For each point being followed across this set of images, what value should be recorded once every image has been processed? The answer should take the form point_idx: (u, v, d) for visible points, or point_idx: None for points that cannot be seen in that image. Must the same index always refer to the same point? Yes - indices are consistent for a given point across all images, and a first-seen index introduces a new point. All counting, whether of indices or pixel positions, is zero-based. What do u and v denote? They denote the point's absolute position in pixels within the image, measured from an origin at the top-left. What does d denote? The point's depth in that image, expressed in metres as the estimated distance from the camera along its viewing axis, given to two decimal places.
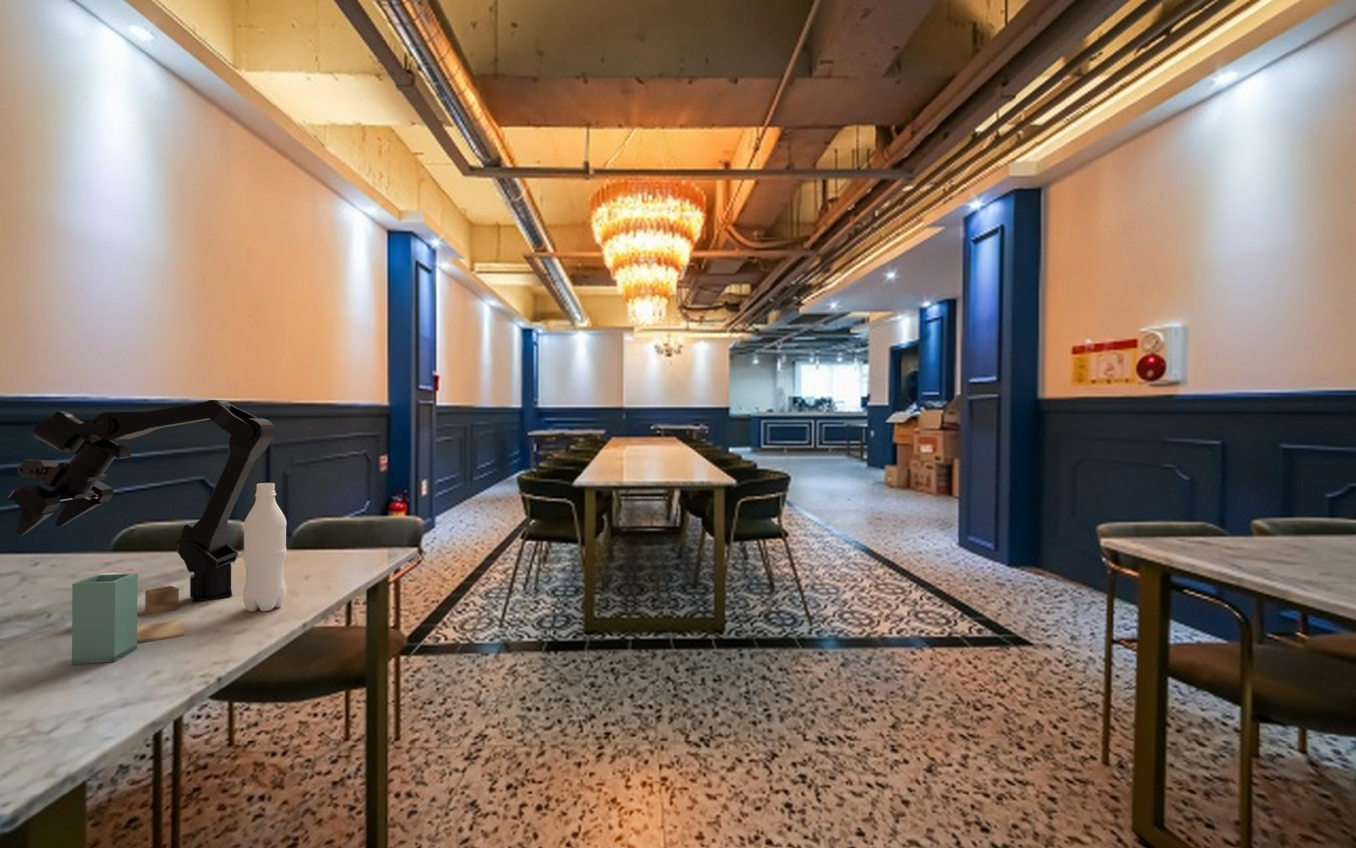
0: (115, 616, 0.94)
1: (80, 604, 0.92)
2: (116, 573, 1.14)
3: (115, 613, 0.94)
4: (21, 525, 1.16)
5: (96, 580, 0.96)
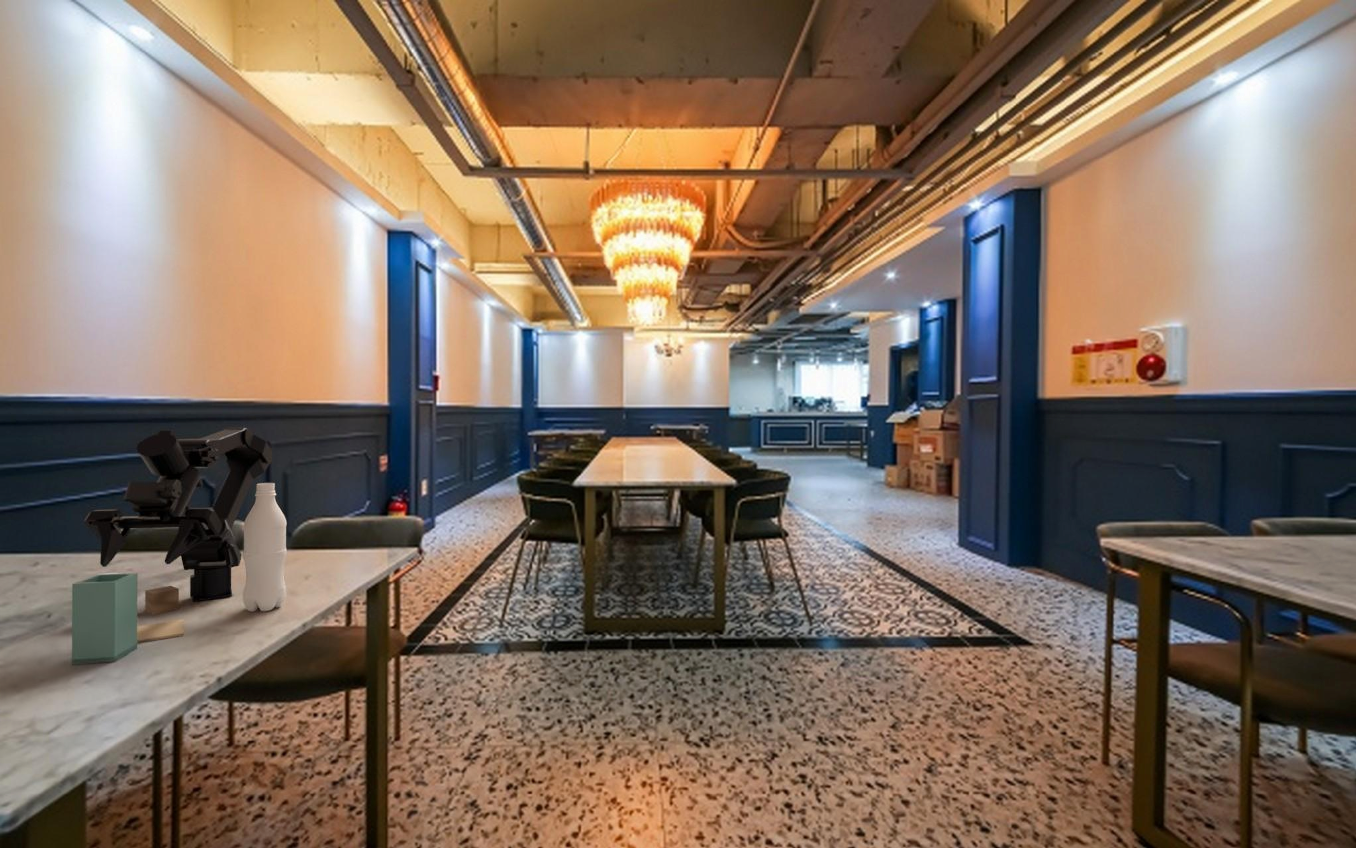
0: (115, 616, 0.94)
1: (80, 604, 0.92)
2: (116, 573, 1.14)
3: (115, 613, 0.94)
4: (176, 552, 1.05)
5: (96, 580, 0.96)
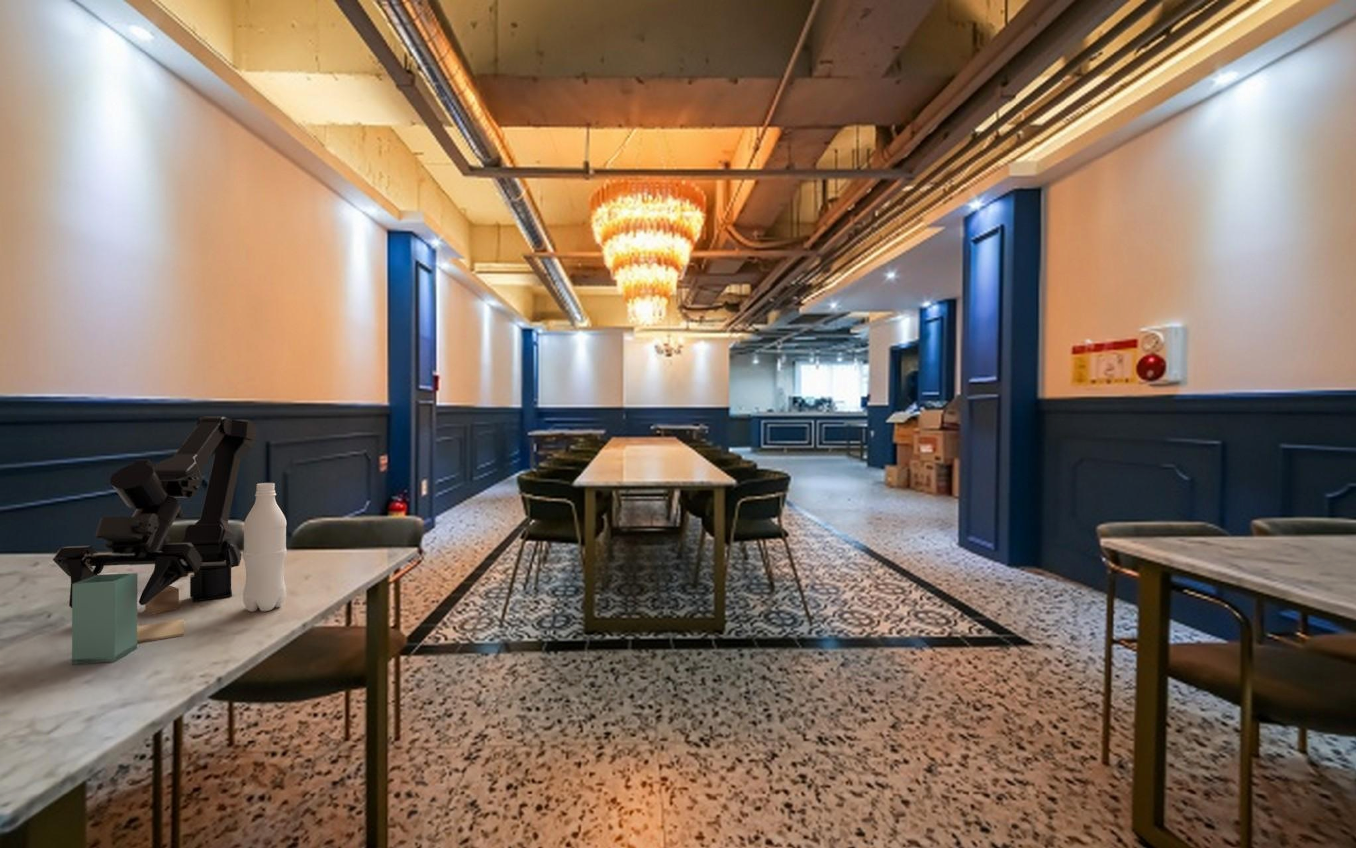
0: (115, 616, 0.94)
1: (80, 604, 0.92)
2: (116, 573, 1.14)
3: (115, 613, 0.94)
4: (152, 591, 0.98)
5: (96, 580, 0.96)
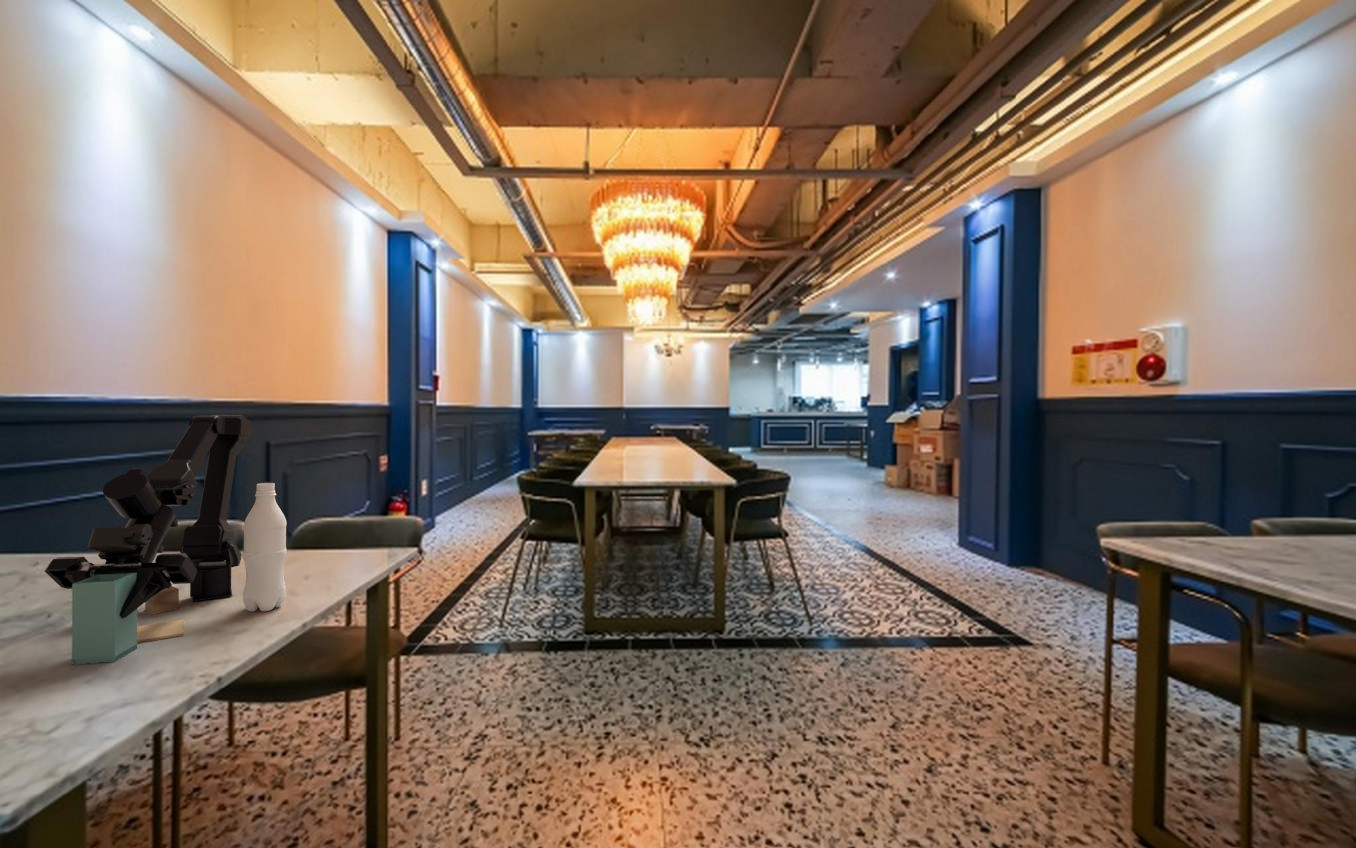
0: (115, 616, 0.94)
1: (80, 604, 0.92)
2: None
3: (115, 613, 0.94)
4: (133, 604, 0.96)
5: (96, 580, 0.96)
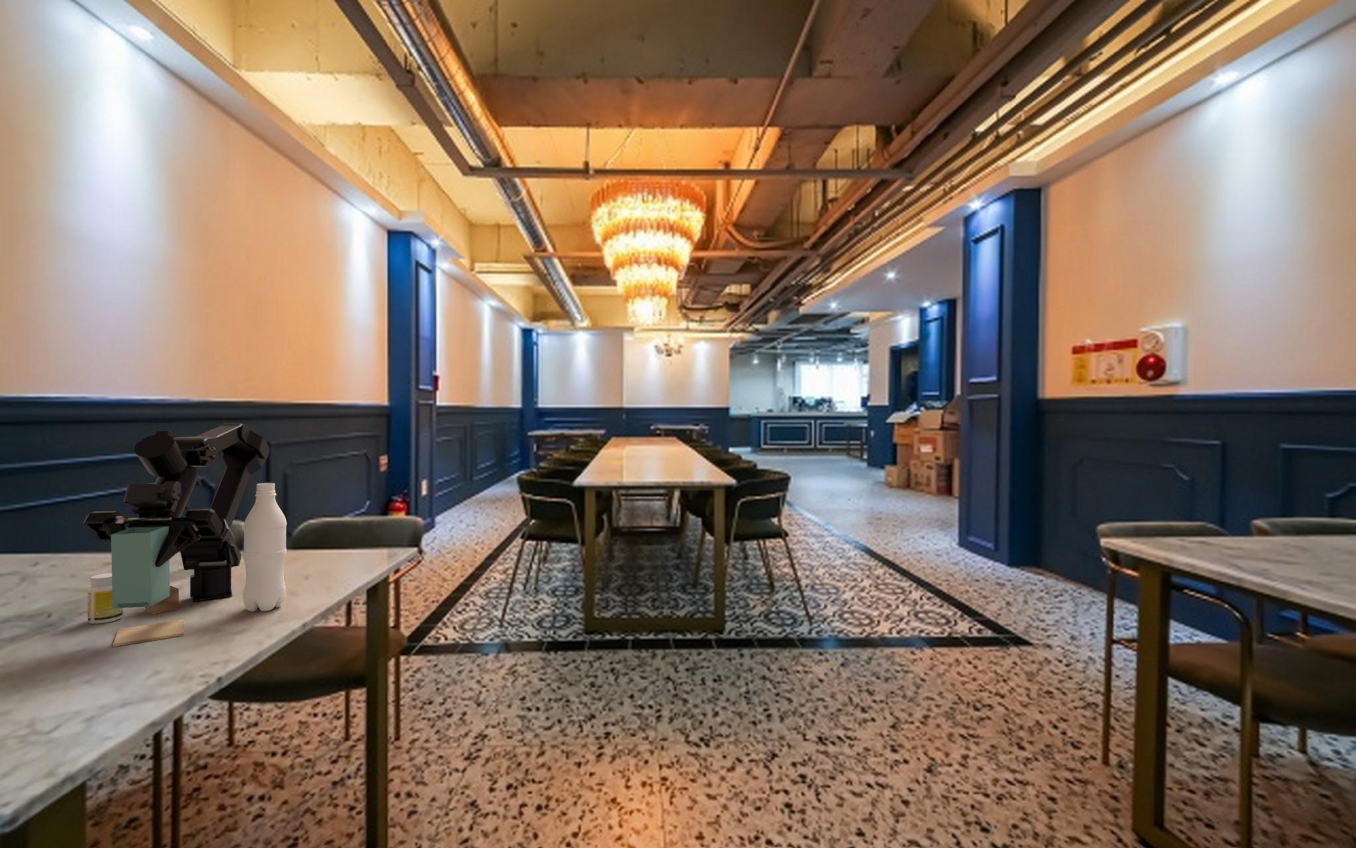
0: (151, 565, 1.02)
1: (119, 553, 1.00)
2: None
3: (151, 561, 1.02)
4: (167, 554, 1.04)
5: (131, 532, 1.04)
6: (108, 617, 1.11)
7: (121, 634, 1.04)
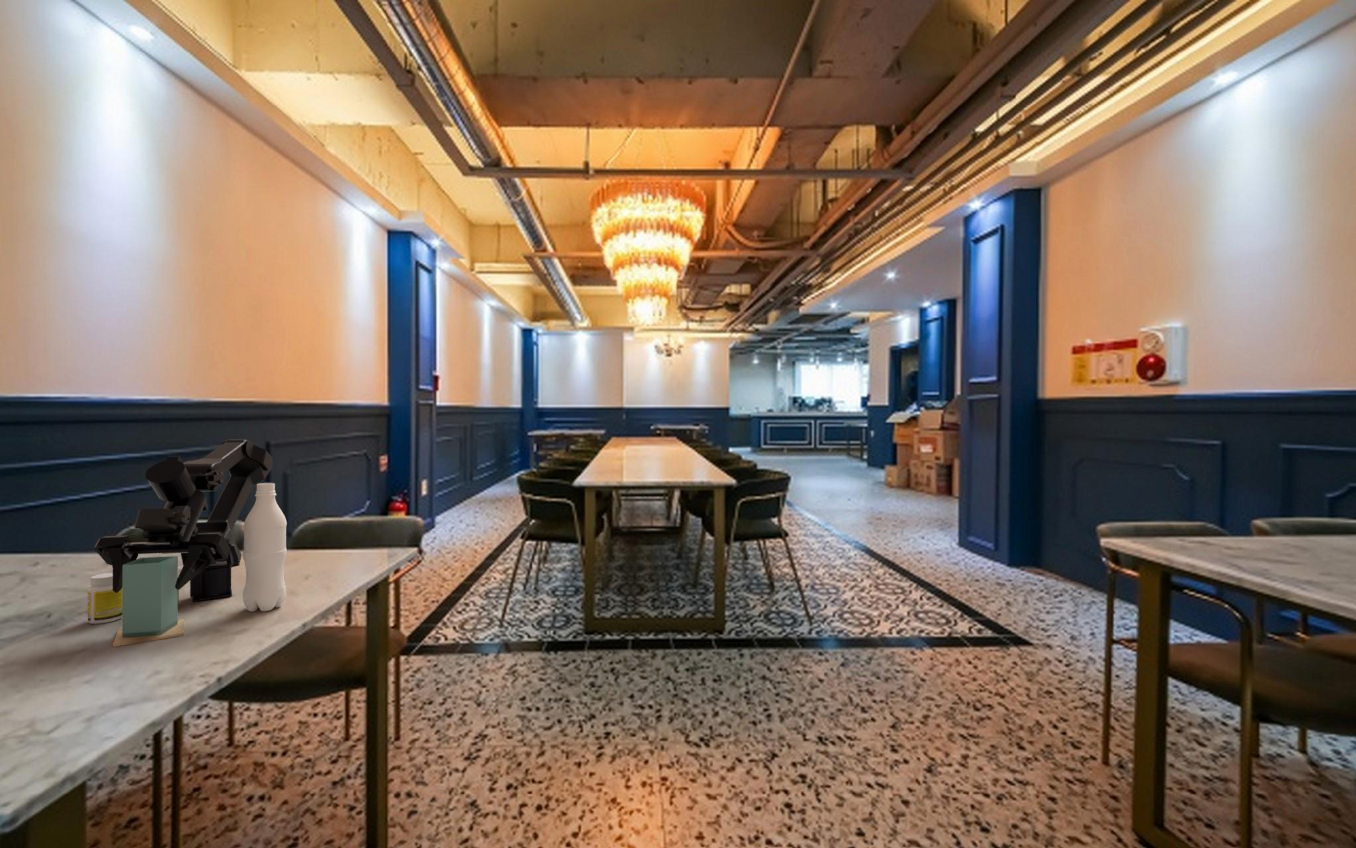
0: (161, 594, 1.04)
1: (129, 583, 1.03)
2: None
3: (161, 591, 1.04)
4: (186, 577, 1.07)
5: (141, 562, 1.07)
6: (108, 617, 1.11)
7: (121, 634, 1.04)
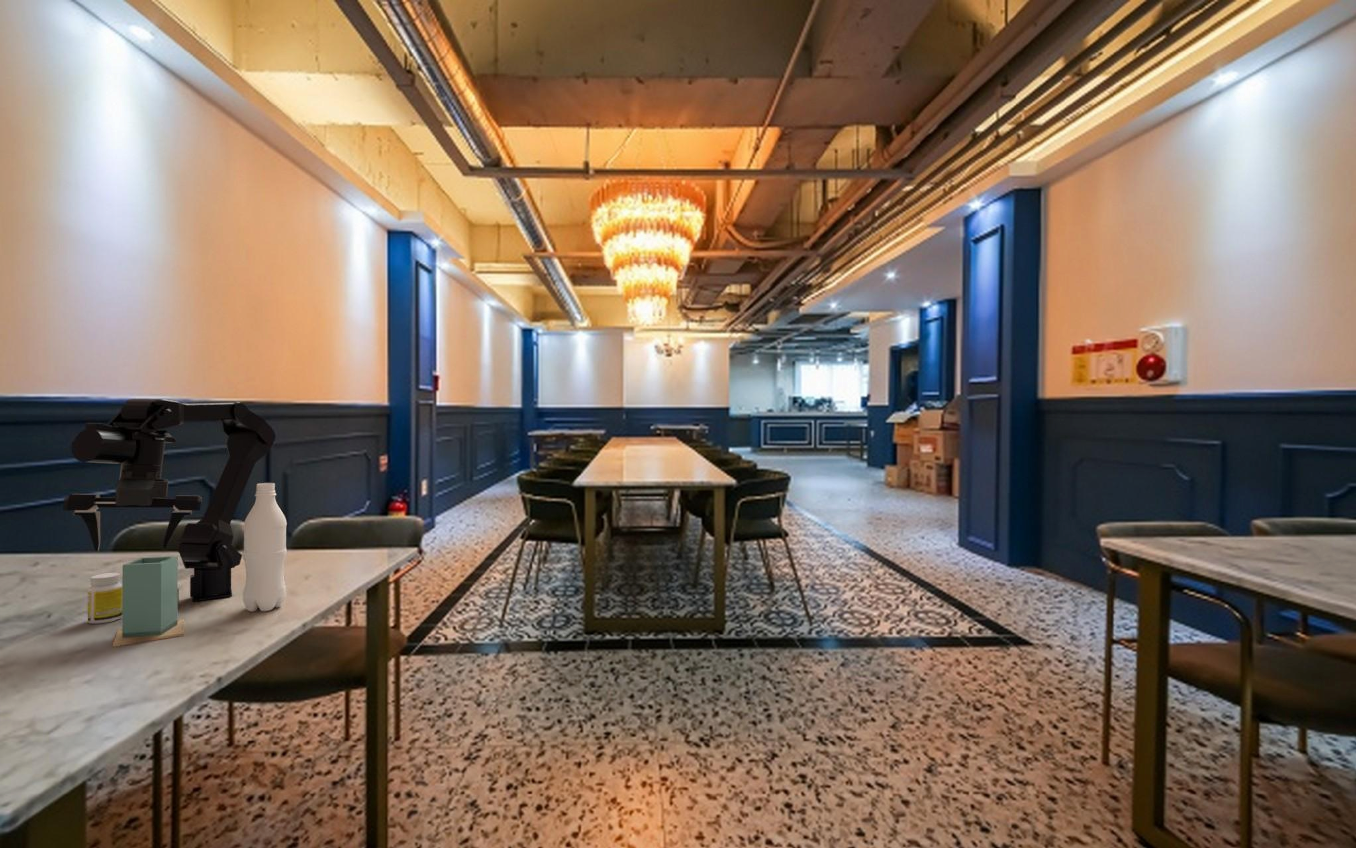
0: (161, 594, 1.04)
1: (129, 583, 1.03)
2: (116, 573, 1.14)
3: (161, 591, 1.04)
4: (170, 538, 1.14)
5: (141, 562, 1.07)
6: (108, 617, 1.11)
7: (121, 634, 1.04)
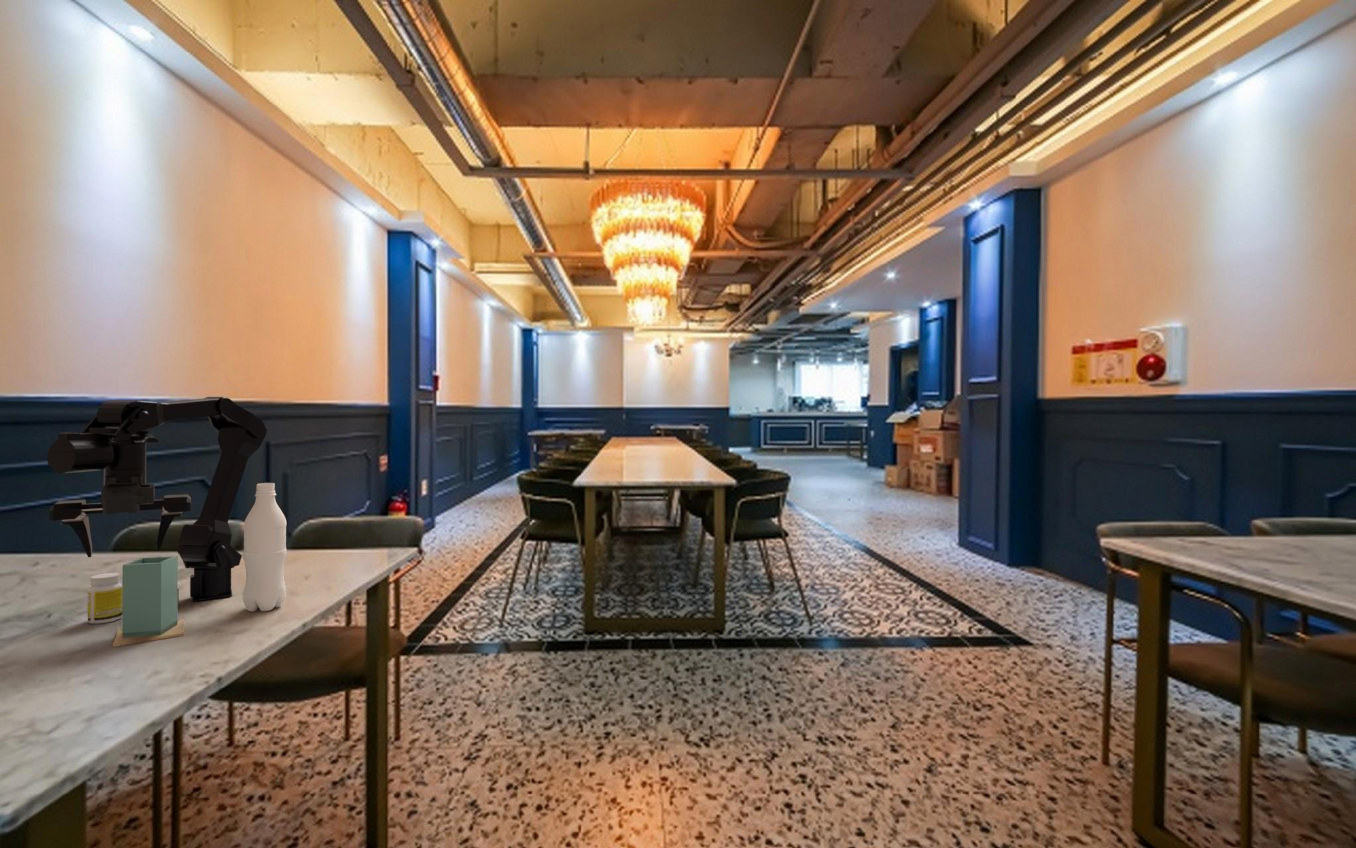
0: (161, 594, 1.04)
1: (129, 583, 1.03)
2: (116, 573, 1.14)
3: (161, 591, 1.04)
4: None
5: (141, 562, 1.07)
6: (108, 617, 1.11)
7: (121, 634, 1.04)
